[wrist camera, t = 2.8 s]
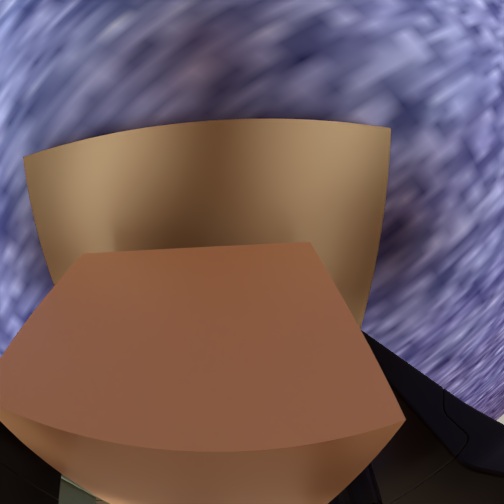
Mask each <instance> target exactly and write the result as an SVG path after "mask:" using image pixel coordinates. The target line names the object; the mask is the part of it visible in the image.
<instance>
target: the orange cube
mask: <svg viewBox="0 0 504 504" xmlns="http://www.w3.org/2000/svg"><path fill="white" fill-rule="evenodd" d="M405 420H406V419H405V416H404V414H403V412H402V410H401V408H400V406H399V404H398V402H397V400H396V398H395V395H394V393H393V391H392V389H391V387H390V385H389V383H388V381H387V379H386V377H385V375H384V373H383V371H382V369H381V367H380V365H379V364H378V362H377V360H376V358H375V356H374V354H373V352H372V350H371V348H370V346H369V344H368V343H367V341H366V339H365V337H364V335H363V333H362V331H361V330H360V328H359V326H358V324H357V322H356V320H355V319H354V317H353V315H352V313H351V311H350V310H349V308H348V306H347V304H346V303H345V301H344V299H343V297H342V296H341V294H340V292H339V290H338V289H337V287H336V285H335V283H334V282H333V280H332V278H331V277H330V275H329V273H328V271H327V270H326V268H325V266H324V265H323V263H322V261H321V260H320V258H319V256H318V255H317V253H316V251H315V250H314V248H313V247H312V245H311V243H310V242H299V243H276V244H255V245H234V246H213V247H194V248H174V249H156V250H137V251H120V252H102V253H85V254H82V255H81V257H80V258H79V259H78V260H77V261H76V262H75V263H74V264H73V265H72V266H71V267H70V269H69V270H68V271H67V272H66V273H65V274H64V275H63V276H62V278H61V279H60V280H59V281H58V282H57V283H56V285H55V286H54V287H53V288H52V289H51V291H50V292H49V293H48V294H47V295H46V297H45V298H44V299H43V300H42V302H41V303H40V304H39V305H38V307H37V308H36V309H35V310H34V312H33V313H32V314H31V316H30V317H29V318H28V320H27V321H26V322H25V324H24V325H23V326H22V328H21V329H20V330H19V332H18V333H17V335H16V336H15V337H14V339H13V340H12V342H11V343H10V345H9V346H8V348H7V349H6V351H5V352H4V354H3V355H2V357H1V358H0V421H1V422H2V423H3V424H4V425H5V426H6V427H7V428H8V429H9V430H10V431H11V432H12V433H13V434H14V435H15V436H16V437H17V438H18V439H19V440H20V441H22V442H23V443H24V444H25V445H26V446H27V447H28V448H29V449H31V450H32V451H33V452H34V453H35V454H37V455H38V456H39V457H40V458H41V459H43V460H44V461H45V462H47V463H48V464H49V465H50V466H52V467H53V468H54V469H56V470H57V471H59V472H60V473H61V474H63V475H64V476H66V477H67V478H69V479H70V480H71V481H73V482H74V483H76V484H78V485H79V486H81V487H82V488H84V489H85V490H87V491H89V492H90V493H92V494H94V495H95V496H97V497H99V498H101V499H102V500H104V501H106V502H108V503H110V504H328V503H329V502H330V501H331V500H332V499H334V498H335V497H336V496H337V495H338V494H339V493H340V492H341V491H342V490H344V489H345V488H346V487H347V486H348V485H349V484H350V483H351V482H352V481H353V480H354V479H355V478H356V477H357V476H358V475H359V474H360V473H361V472H362V471H363V470H364V469H365V468H366V467H367V466H368V465H369V464H370V463H371V461H372V460H373V459H374V458H375V457H376V456H377V455H378V454H379V453H380V451H381V450H382V449H383V448H384V447H385V446H386V444H387V443H388V442H389V441H390V440H391V438H392V437H393V436H394V435H395V433H396V432H397V431H398V430H399V428H400V427H401V426H402V424H403V423H404V422H405Z"/></svg>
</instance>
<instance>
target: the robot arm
mask: <svg viewBox="0 0 504 504" xmlns="http://www.w3.org/2000/svg"><path fill="white" fill-rule="evenodd" d="M361 331H362V330H361ZM362 333H363V335H364V337H365V339H366V341H367V343H368V344H369V346H370V348H371V350H372V352H373V354H374V356H375V358H376V360H377V362H378V364H379V365H380V367H381V369H382V371H383V373H384V375H385V377H386V379H387V381H388V383H389V385H390V387H391V389H392V391H393V393H394V395H395V398H396V400H397V402H398V404H399V406H400V408H401V410H402V412H403V414H404V416H405V419H406V420H405V422H404V423H403V424H402V426H401V427H400V428H399V430H398V431H397V432H396V433H395V435H394V436H393V437H392V438H391V440H390V441H389V442H388V443H387V444H386V446H385V447H384V448H383V449H382V450H381V451H380V453H379V454H378V455H377V456H376V457H375V458H374V459H373V460H372V461H371V463H370V464H369V465H368V466H367V467H366V468H365V469H364V470H363V471H362V472H361V473H360V474H359V475H358V476H357V477H356V478H355V479H354V480H353V481H352V482H351V483H350V484H349V485H348V486H347V487H346V488H345V489H344V490H342V491H341V492H340V493H339V494H338V495H337V496H336V497H335V498H334V499H332V500H331V501H330V502H329V503H328V504H504V425H503V424H502V423H500V422H497V421H496V420H494V419H492V418H490V417H489V416H487V415H485V414H483V413H481V412H480V411H478V410H476V409H474V408H473V407H471V406H469V405H468V404H466V403H464V402H463V401H461V400H460V399H458V398H457V397H455V396H454V395H452V394H451V393H450V392H448V391H447V390H445V389H443V388H442V387H441V386H439V385H438V384H437V383H435V382H434V381H432V380H431V379H430V378H428V377H427V376H425V375H424V374H423V373H421V372H420V371H418V370H417V369H415V368H414V367H413V366H411V365H410V364H408V363H407V362H406V361H404V360H403V359H401V358H400V357H399V356H397V355H396V354H394V353H393V352H391V351H390V350H389V349H387V348H386V347H384V346H383V345H382V344H380V343H379V342H377V341H376V340H375V339H373V338H372V337H370V336H369V335H367V334H366V333H365V332H363V331H362ZM61 475H62V474H61V473H60V472H59V471H57V470H56V469H54V468H53V467H52V466H50V465H49V464H48V463H47V462H45V461H44V460H43V459H41V458H40V457H39V456H38V455H37V454H35V453H34V452H33V451H32V450H31V449H29V448H28V447H27V446H26V445H25V444H24V443H23V442H22V441H20V440H19V439H18V438H17V437H16V436H15V435H14V434H13V433H12V432H11V431H10V430H9V429H8V428H7V427H6V426H5V425H4V424H3V423H2V422H1V421H0V504H59V493H60V484H61Z"/></svg>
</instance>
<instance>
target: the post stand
mask: <svg viewBox="0 0 504 504" xmlns="http://www.w3.org/2000/svg"><path fill="white" fill-rule="evenodd" d="M390 141H391V128H387V127H380V126H373V125H365V124H356V123H347V122H336V121H322V120H305V119H229V120H211V121H198V122H187V123H177V124H169V125H161V126H153V127H146V128H140V129H134V130H128V131H122V132H117V133H112V134H107V135H102V136H97V137H93V138H88V139H84V140H80V141H76V142H72V143H68V144H64V145H61V146H57V147H54V148H50V149H47V150H44V151H40V152H37V153H34V154H31V155H28V156H25V157H23V160H24V167H25V174H26V181H27V187H28V192H29V198H30V202H31V207H32V212H33V216H34V220H35V225H36V228H37V232H38V236H39V240H40V243H41V247H42V250H43V253H44V257H45V260H46V263H47V266H48V269H49V272H50V275H51V278H52V280H53V283H54V286H55V285H56V283H57V282H58V281H59V280H60V279H61V278H62V276H63V275H64V274H65V273H66V272H67V271H68V270H69V269H70V267H71V266H72V265H73V264H74V263H75V262H76V261H77V260H78V259H79V258H80V257H81V255H82V254H85V253H102V252H120V251H137V250H156V249H174V248H194V247H213V246H234V245H255V244H276V243H299V242H310V243H311V245H312V247H313V248H314V250H315V251H316V253H317V255H318V256H319V258H320V260H321V261H322V263H323V265H324V266H325V268H326V270H327V271H328V273H329V275H330V277H331V278H332V280H333V282H334V283H335V285H336V287H337V289H338V290H339V292H340V294H341V296H342V297H343V299H344V301H345V303H346V304H347V306H348V308H349V310H350V311H351V313H352V315H353V317H354V319H355V320H356V322H357V324H358V326H359V328H361V325H362V321H363V317H364V313H365V309H366V305H367V301H368V297H369V293H370V288H371V284H372V279H373V274H374V269H375V264H376V259H377V254H378V248H379V242H380V236H381V230H382V223H383V216H384V209H385V201H386V192H387V182H388V171H389V158H390Z"/></svg>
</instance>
